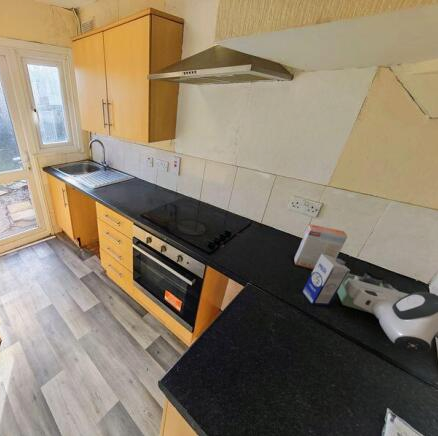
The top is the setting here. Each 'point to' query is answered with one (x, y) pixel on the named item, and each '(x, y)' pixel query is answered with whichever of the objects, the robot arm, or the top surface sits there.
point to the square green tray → (345, 296)
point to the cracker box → (319, 245)
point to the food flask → (373, 277)
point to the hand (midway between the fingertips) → (371, 281)
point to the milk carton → (325, 280)
